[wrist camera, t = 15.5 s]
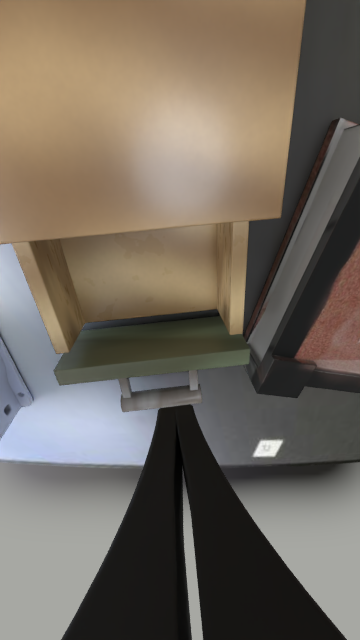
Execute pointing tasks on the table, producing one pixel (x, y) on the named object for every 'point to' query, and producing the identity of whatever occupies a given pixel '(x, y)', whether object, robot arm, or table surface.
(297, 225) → the book
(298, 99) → the table surface
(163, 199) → the cabinet
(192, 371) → the drawer
